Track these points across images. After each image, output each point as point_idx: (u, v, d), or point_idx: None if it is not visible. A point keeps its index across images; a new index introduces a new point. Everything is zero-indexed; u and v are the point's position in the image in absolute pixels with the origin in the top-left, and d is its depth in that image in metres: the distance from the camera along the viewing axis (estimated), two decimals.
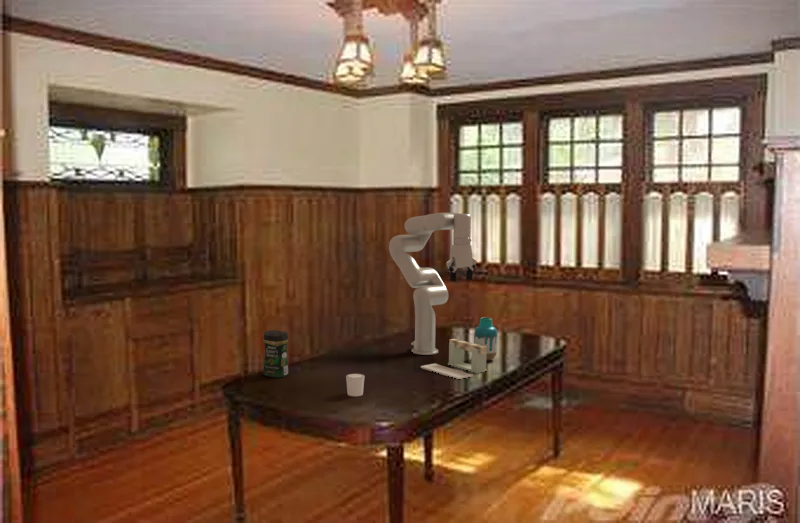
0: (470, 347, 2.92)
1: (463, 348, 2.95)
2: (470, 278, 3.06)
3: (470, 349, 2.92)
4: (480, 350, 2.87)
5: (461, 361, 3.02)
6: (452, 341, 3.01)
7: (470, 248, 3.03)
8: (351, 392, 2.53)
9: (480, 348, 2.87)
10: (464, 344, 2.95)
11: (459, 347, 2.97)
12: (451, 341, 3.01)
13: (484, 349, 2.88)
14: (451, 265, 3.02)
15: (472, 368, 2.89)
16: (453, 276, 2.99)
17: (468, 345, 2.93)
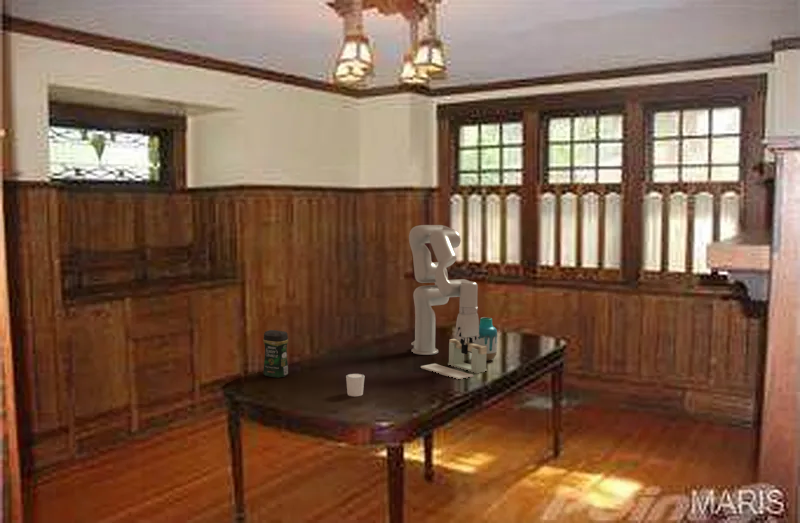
0: (470, 347, 2.92)
1: None
2: None
3: (470, 349, 2.92)
4: (480, 350, 2.87)
5: (461, 361, 3.02)
6: (452, 341, 3.01)
7: (477, 317, 2.94)
8: (351, 392, 2.53)
9: (480, 348, 2.87)
10: None
11: (459, 347, 2.97)
12: (451, 341, 3.01)
13: (484, 349, 2.88)
14: None
15: (472, 368, 2.89)
16: (464, 349, 2.93)
17: (468, 345, 2.93)
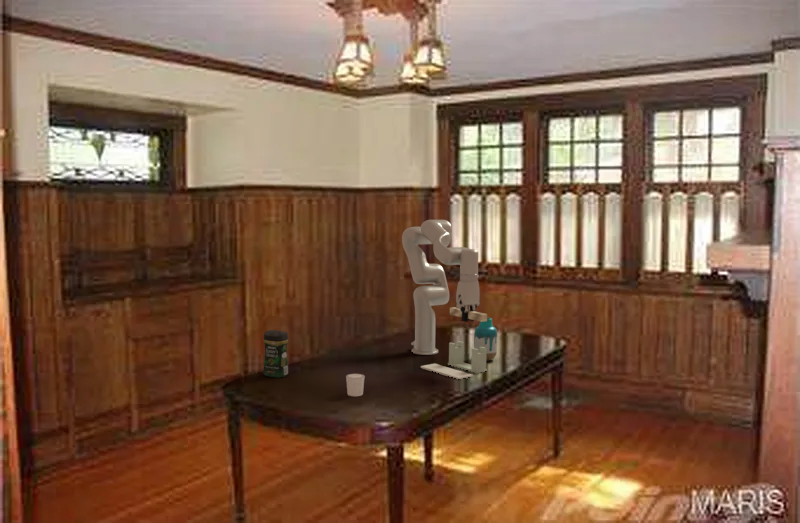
0: (470, 315, 2.91)
1: None
2: None
3: (470, 317, 2.91)
4: (480, 317, 2.86)
5: (461, 361, 3.02)
6: (452, 309, 3.00)
7: (477, 285, 2.93)
8: (351, 392, 2.53)
9: (480, 315, 2.86)
10: None
11: (459, 315, 2.96)
12: (451, 309, 3.00)
13: (485, 316, 2.87)
14: None
15: (472, 368, 2.89)
16: (465, 316, 2.92)
17: (468, 313, 2.92)
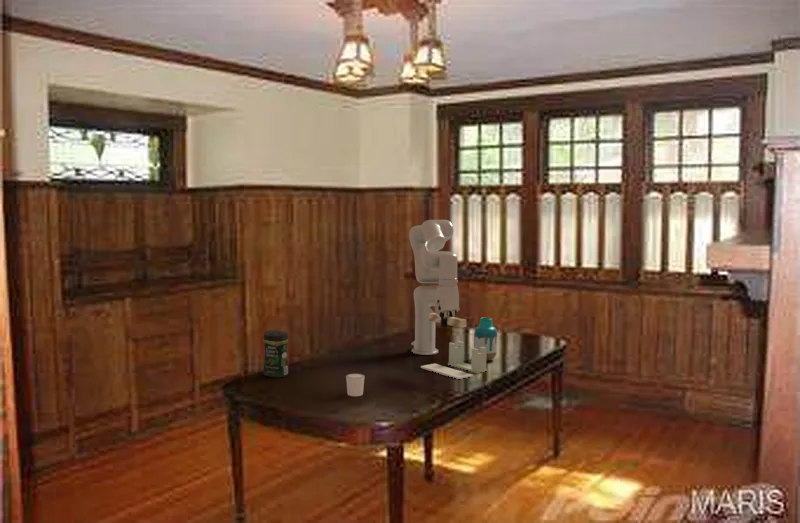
0: (450, 320, 2.83)
1: None
2: None
3: (450, 322, 2.83)
4: (460, 323, 2.79)
5: (461, 361, 3.02)
6: (432, 315, 2.92)
7: (457, 290, 2.86)
8: (351, 392, 2.53)
9: (460, 321, 2.79)
10: None
11: (439, 321, 2.89)
12: (431, 315, 2.93)
13: (464, 322, 2.79)
14: None
15: (472, 368, 2.89)
16: (444, 322, 2.85)
17: (448, 318, 2.84)
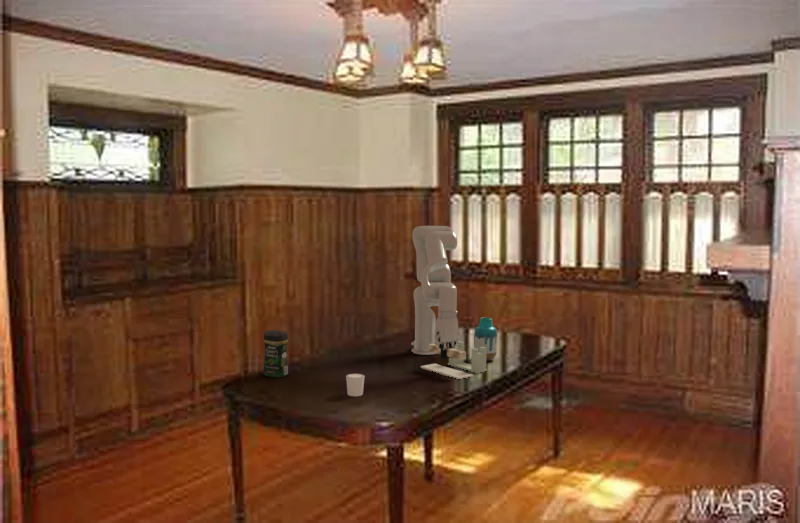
0: (449, 352, 2.84)
1: None
2: None
3: (449, 354, 2.84)
4: (459, 355, 2.80)
5: (461, 361, 3.02)
6: (431, 346, 2.93)
7: (456, 321, 2.87)
8: (351, 392, 2.53)
9: (459, 353, 2.80)
10: None
11: (438, 352, 2.90)
12: (430, 346, 2.94)
13: (463, 354, 2.80)
14: None
15: (472, 368, 2.89)
16: (443, 354, 2.86)
17: (447, 350, 2.85)
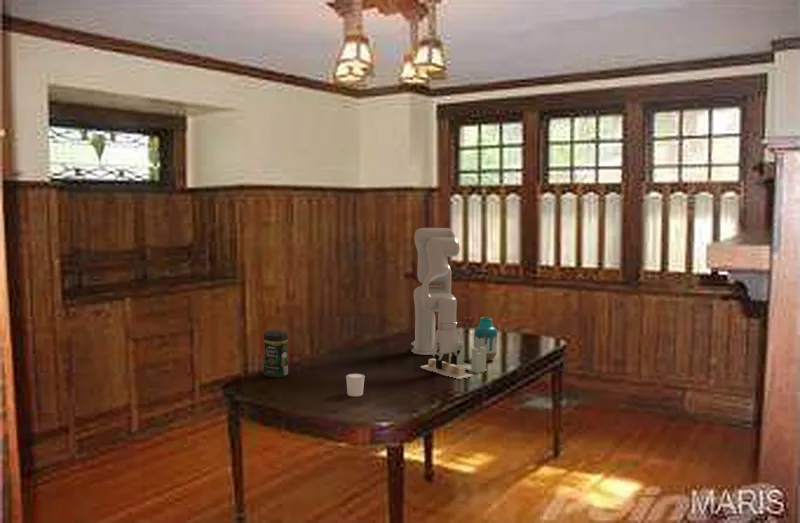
0: (449, 368, 2.85)
1: (442, 368, 2.89)
2: None
3: (449, 370, 2.85)
4: (459, 371, 2.81)
5: (461, 361, 3.02)
6: (431, 361, 2.94)
7: (456, 333, 2.88)
8: (351, 392, 2.53)
9: (459, 369, 2.81)
10: (443, 364, 2.88)
11: None
12: (430, 361, 2.95)
13: (463, 370, 2.81)
14: (436, 351, 2.86)
15: (472, 368, 2.89)
16: (439, 364, 2.85)
17: (447, 366, 2.86)
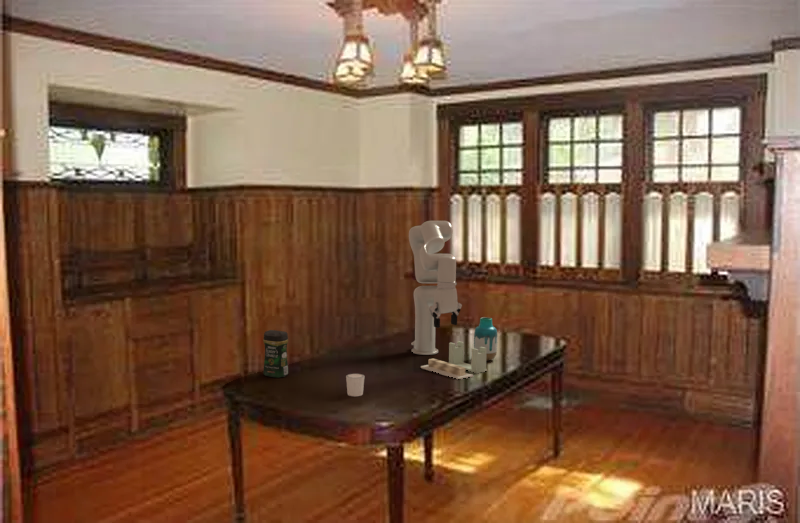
0: (449, 368, 2.85)
1: (442, 368, 2.89)
2: (455, 323, 2.91)
3: (449, 370, 2.85)
4: (459, 371, 2.81)
5: (461, 361, 3.02)
6: (431, 361, 2.94)
7: (455, 292, 2.88)
8: (351, 392, 2.53)
9: (459, 369, 2.81)
10: (443, 364, 2.88)
11: (438, 367, 2.91)
12: (430, 361, 2.95)
13: (463, 370, 2.81)
14: (435, 310, 2.87)
15: (472, 368, 2.89)
16: (437, 322, 2.85)
17: (447, 366, 2.86)
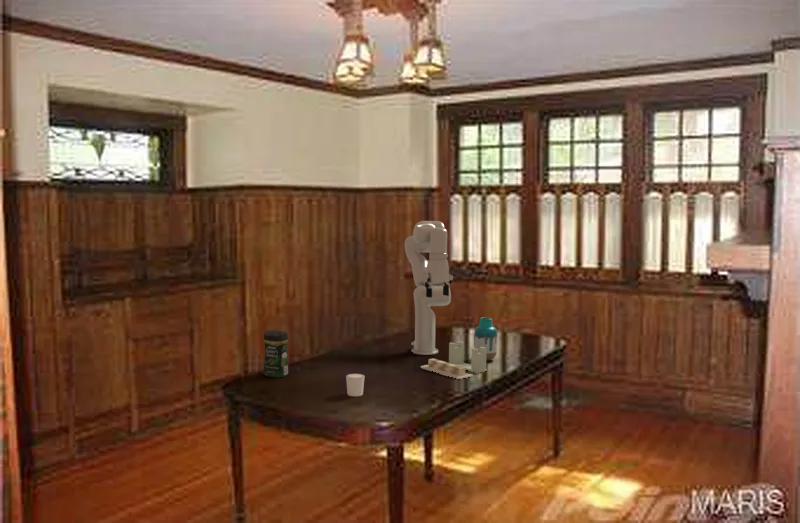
0: (449, 368, 2.85)
1: (442, 368, 2.89)
2: (447, 294, 3.00)
3: (449, 370, 2.85)
4: (459, 371, 2.81)
5: (461, 361, 3.02)
6: (431, 361, 2.94)
7: (446, 263, 2.97)
8: (351, 392, 2.53)
9: (459, 369, 2.81)
10: (443, 364, 2.88)
11: (438, 367, 2.91)
12: (430, 361, 2.95)
13: (463, 370, 2.81)
14: (427, 281, 2.96)
15: (472, 368, 2.89)
16: (429, 292, 2.94)
17: (447, 366, 2.86)
